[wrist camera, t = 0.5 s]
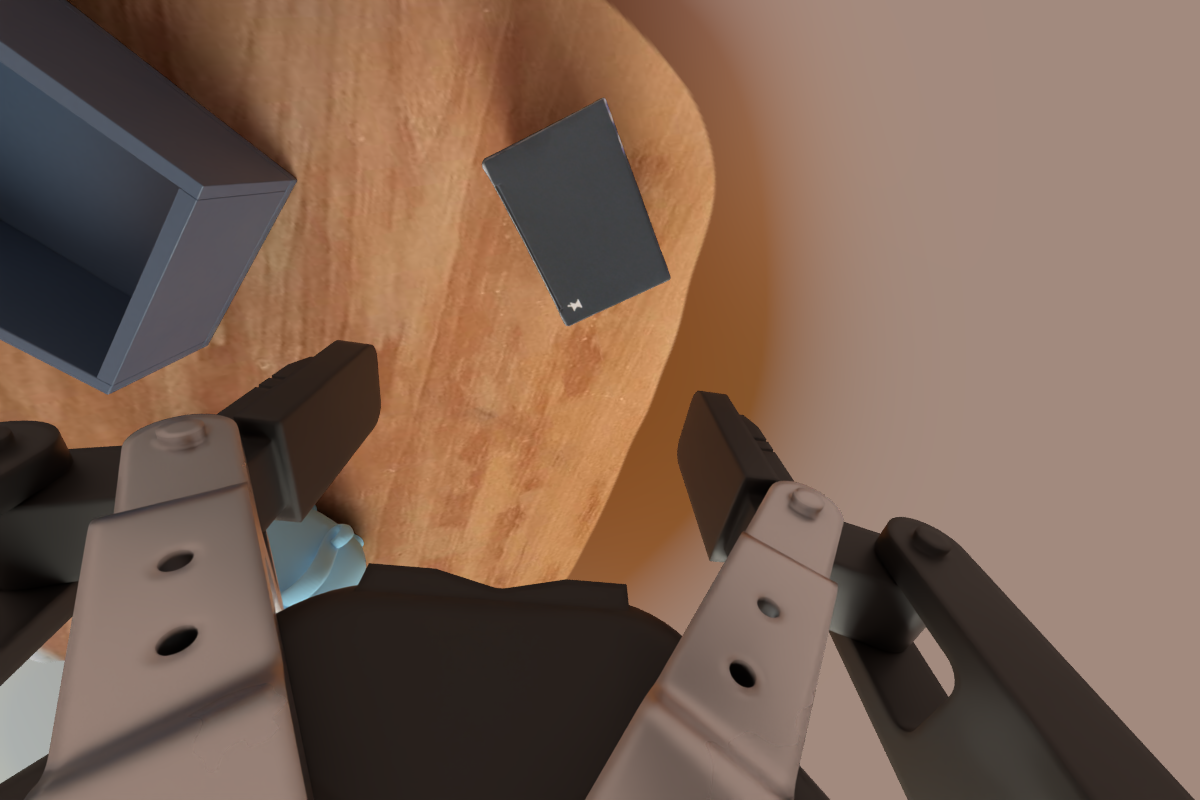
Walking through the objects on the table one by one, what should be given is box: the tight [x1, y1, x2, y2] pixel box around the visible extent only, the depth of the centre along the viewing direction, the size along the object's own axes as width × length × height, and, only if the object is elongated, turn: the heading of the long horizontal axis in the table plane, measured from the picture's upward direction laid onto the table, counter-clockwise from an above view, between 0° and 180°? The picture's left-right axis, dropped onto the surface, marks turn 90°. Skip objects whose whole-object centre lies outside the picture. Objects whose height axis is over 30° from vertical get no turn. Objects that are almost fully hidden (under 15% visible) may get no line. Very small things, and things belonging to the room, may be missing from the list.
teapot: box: [266, 505, 366, 609], centre depth 36 cm, size 13×14×11 cm
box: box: [482, 98, 670, 326], centre depth 23 cm, size 8×6×11 cm
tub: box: [0, 0, 297, 394], centre depth 23 cm, size 15×15×8 cm
